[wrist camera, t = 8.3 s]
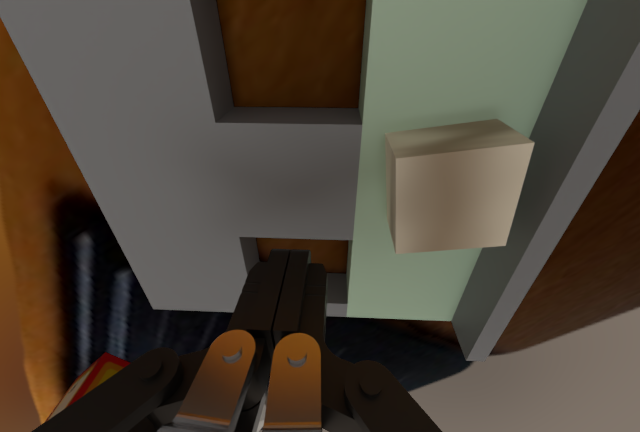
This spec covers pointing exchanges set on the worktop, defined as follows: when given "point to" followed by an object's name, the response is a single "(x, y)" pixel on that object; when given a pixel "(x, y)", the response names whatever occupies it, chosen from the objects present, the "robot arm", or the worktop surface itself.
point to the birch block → (454, 185)
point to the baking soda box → (90, 380)
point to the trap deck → (330, 142)
